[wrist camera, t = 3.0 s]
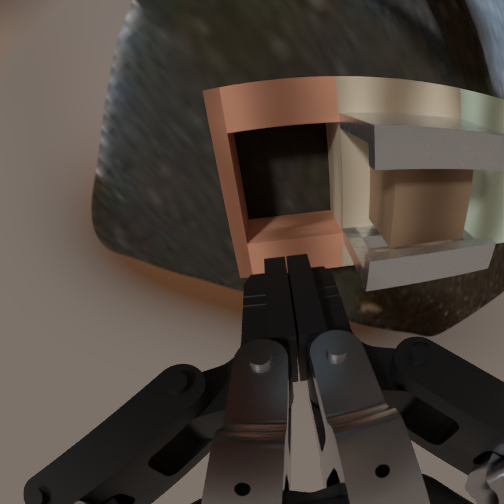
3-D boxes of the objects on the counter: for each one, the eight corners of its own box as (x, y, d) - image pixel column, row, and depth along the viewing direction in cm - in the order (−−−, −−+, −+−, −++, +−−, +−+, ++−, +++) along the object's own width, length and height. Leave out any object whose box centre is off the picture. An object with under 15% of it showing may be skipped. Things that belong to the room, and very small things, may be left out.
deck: (502, 100, 15) (529, 108, 12) (489, 223, 23) (509, 241, 19) (212, 90, 18) (202, 90, 15) (242, 250, 25) (240, 278, 22)
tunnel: (460, 119, 14) (514, 138, 9) (449, 228, 19) (487, 268, 14) (338, 112, 15) (374, 124, 10) (342, 240, 20) (365, 291, 15)
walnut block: (441, 137, 15) (475, 152, 12) (434, 212, 18) (461, 238, 15) (369, 136, 16) (396, 149, 12) (368, 218, 19) (389, 247, 16)
